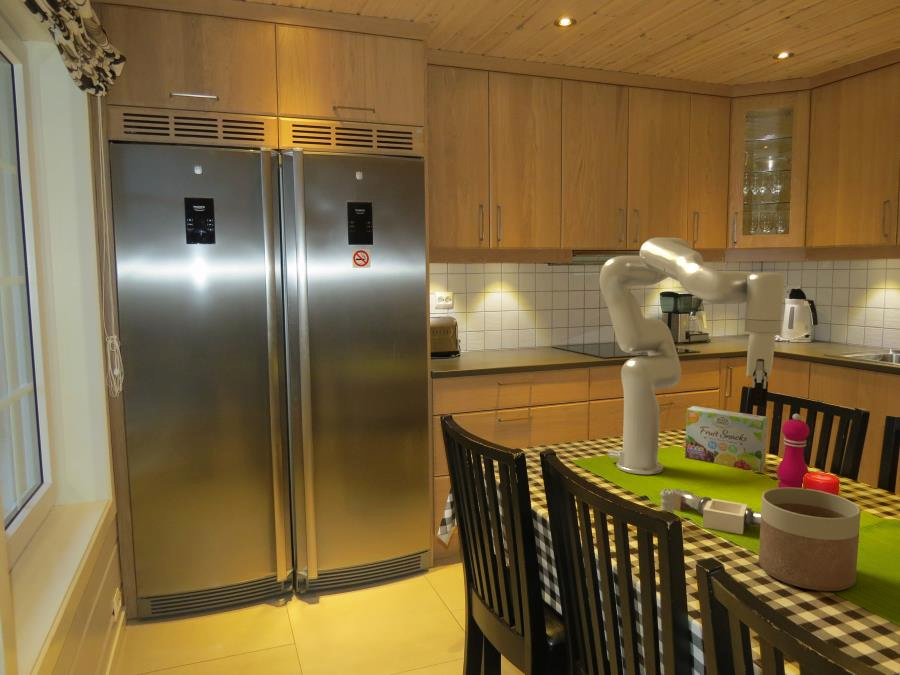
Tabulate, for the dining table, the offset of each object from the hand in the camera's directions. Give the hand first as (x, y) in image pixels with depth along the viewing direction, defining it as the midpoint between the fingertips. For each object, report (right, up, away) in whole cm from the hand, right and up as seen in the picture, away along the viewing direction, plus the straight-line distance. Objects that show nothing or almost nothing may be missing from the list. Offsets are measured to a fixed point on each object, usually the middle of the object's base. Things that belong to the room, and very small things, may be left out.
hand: (758, 401), depth 150 cm
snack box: (+8, -22, +39) cm, 45 cm away
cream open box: (-10, -27, -6) cm, 29 cm away
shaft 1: (-15, -26, +2) cm, 30 cm away
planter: (-5, -29, -28) cm, 41 cm away
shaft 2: (-3, -27, -10) cm, 29 cm away
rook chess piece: (-23, -27, -6) cm, 36 cm away
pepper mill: (+16, -24, +15) cm, 33 cm away
